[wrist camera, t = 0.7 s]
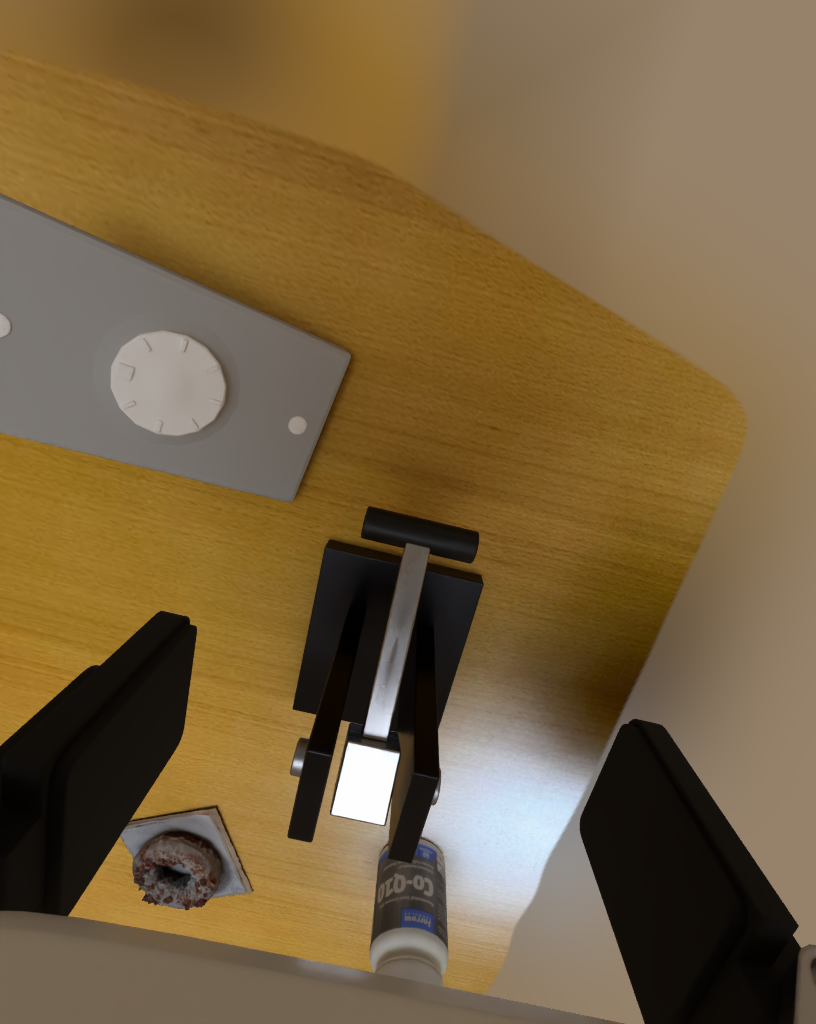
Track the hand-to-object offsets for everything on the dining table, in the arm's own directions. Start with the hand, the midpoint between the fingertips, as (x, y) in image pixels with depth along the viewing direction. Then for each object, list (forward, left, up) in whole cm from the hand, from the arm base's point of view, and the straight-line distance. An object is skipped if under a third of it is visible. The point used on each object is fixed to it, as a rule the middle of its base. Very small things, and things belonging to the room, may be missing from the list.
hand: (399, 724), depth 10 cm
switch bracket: (+8, +3, -17) cm, 20 cm away
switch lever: (+5, +2, -10) cm, 12 cm away
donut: (+31, -1, -18) cm, 36 cm away
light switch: (-1, -13, -18) cm, 22 cm away
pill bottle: (+23, +13, -18) cm, 32 cm away
